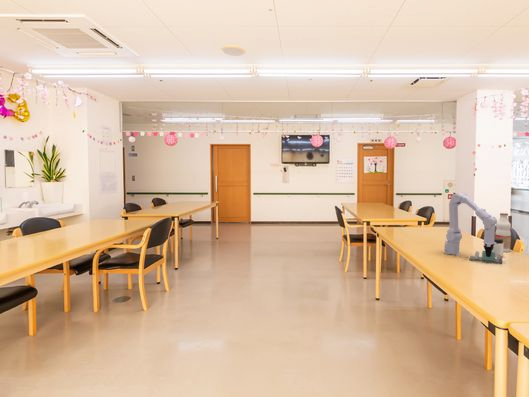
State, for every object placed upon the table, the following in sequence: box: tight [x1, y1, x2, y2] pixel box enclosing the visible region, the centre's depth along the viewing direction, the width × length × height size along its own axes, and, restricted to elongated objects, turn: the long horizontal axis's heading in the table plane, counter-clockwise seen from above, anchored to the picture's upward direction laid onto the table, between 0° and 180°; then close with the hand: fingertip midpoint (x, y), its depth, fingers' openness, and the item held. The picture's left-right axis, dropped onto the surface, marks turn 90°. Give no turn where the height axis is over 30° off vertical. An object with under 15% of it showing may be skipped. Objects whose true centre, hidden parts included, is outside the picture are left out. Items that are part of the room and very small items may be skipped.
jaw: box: [474, 250, 480, 259], centre depth 231 cm, size 2×8×4 cm, turn 145°
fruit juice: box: [494, 212, 512, 253], centre depth 255 cm, size 9×9×28 cm
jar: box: [492, 237, 504, 258], centre depth 240 cm, size 9×8×12 cm
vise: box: [469, 254, 503, 265], centre depth 228 cm, size 18×10×4 cm, turn 55°
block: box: [481, 250, 496, 261], centre depth 227 cm, size 7×4×5 cm, turn 54°
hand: (488, 255), depth 227 cm, fingers open, 7 cm apart
